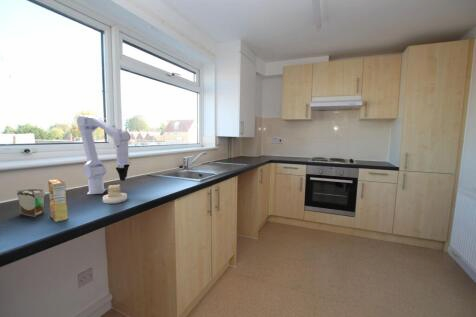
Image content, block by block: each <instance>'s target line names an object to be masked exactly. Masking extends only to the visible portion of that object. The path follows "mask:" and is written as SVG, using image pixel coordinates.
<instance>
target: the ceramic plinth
mask: <svg viewBox="0 0 476 317" xmlns="http://www.w3.org/2000/svg"><path fill="white" fill-rule="evenodd" d="M120 193H121V194H120V196H119V197H108V193H107V194H105V195H103V196H102V202H103V203H104V204H110V205H111V204H120V203H123V202H126V201H128V194H127V193H126V192H120Z"/></svg>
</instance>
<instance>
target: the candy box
mask: <svg viewBox="0 0 476 317" xmlns="http://www.w3.org/2000/svg"><path fill="white" fill-rule="evenodd" d="M47 182H48V196H49V198H48V199H49V208H50V210H49V211H50V217H51V218H52V219H53V221H54V222H56V223H57V222H60V221H66V220H68V206H67V203H68V202H67V190H66V188H67V187H66V182H65V181H63V180H61V179H59V178H58V179H49V180H48V181H47Z"/></svg>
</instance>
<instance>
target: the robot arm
mask: <svg viewBox="0 0 476 317" xmlns="http://www.w3.org/2000/svg"><path fill="white" fill-rule="evenodd" d="M76 122H77V127H78V128H77V129H78V131H79V132H80V137H81V141H82V146H83V149H84V153H85V156H86V160H87V161H86V163H84V165H83V175H84V177H86V179H87V182H88V192H87V193H86V195H96V194H98V195H99V194H104V192H106V191H107V188H105V186H104V184H105V183H104V182H105V181H104V177H105V175H106V173H107V169H106V166H105V165H104V162H103V161H101V159H99V157H98V154H97V150H96V146H95V141H94V137H93V132H95V131H96V130H97V129H99V128H100V129H101V130H104V132H105V134H106V135H107V136H109V137H111V138H112V139H113V141H114V145H115V150H116V151H115V152H116V153H115V154H116V165H118V166H116V167H115V170H116V171H117V174H118V176H119V180H120V181H123V182H124V181H126V178H127V177H128V171H129V168H130V164H132V161H129V160H130V159H129V157H130V156H129V141H131V134H130V132H128V131H126V130H124V131H123V130H122V128H119V127H117V126H116V125H115V124H108V123H106V122H105V121H104V120H102V118H101V117H100V116H97V115H95V116H94V115H86V114H85V115H84V114H80V115H78V117H77V120H76Z"/></svg>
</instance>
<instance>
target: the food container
mask: <svg viewBox="0 0 476 317" xmlns="http://www.w3.org/2000/svg"><path fill="white" fill-rule="evenodd" d="M46 194H47V193H46V192H45V190H44V189H43V188H28V189H20V190H17V191H16V196H17V198H18V203H19V204H18V206H19V210H20V215H24V216H29V217H34V218H36V217H39V216H42V215H43V214H44V208H45V206H44V204H45V203H44V202H45V198H44V197H45V196H46Z"/></svg>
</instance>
